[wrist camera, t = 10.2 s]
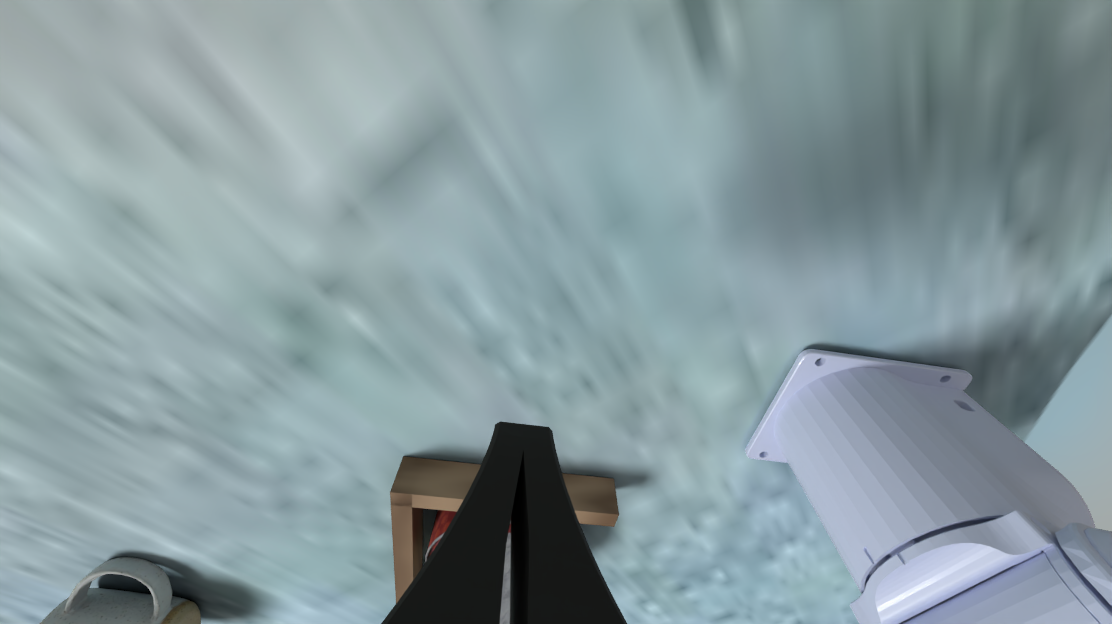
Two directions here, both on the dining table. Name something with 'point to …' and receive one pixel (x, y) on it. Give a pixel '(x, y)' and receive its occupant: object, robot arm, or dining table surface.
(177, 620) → the ceramic mug
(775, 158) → the dining table surface
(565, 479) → the brown wooden u-shaped piece
